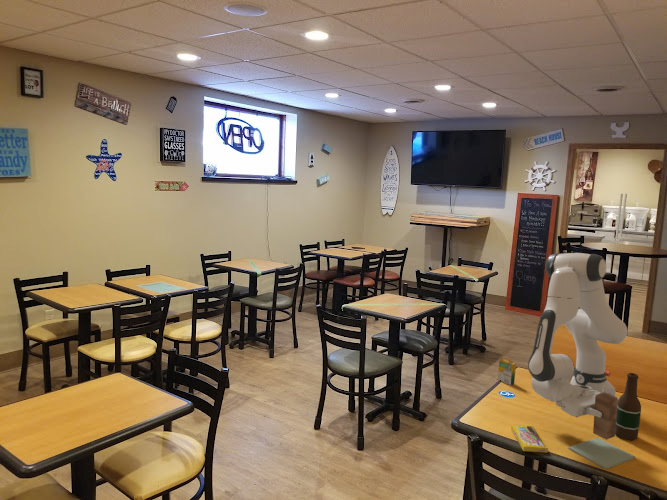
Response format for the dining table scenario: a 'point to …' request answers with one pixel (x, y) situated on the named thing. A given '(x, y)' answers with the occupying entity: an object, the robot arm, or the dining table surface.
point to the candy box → (529, 438)
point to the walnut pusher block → (605, 415)
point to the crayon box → (506, 371)
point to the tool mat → (601, 453)
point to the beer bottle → (628, 411)
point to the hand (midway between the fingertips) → (607, 413)
